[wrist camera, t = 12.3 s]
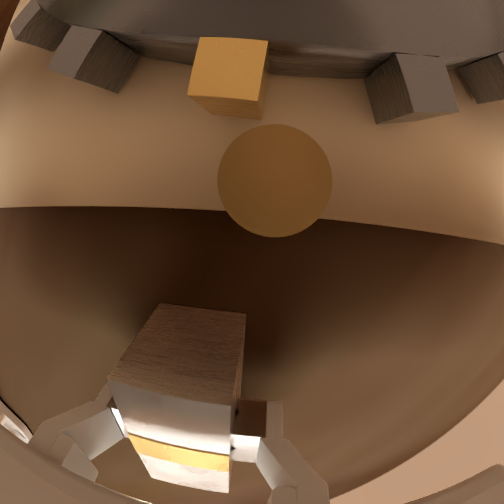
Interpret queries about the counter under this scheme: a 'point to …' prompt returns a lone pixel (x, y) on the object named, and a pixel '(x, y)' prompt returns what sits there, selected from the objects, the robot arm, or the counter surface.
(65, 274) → the counter surface
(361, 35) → the sprocket
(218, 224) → the counter surface
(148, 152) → the plate
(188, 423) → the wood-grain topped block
